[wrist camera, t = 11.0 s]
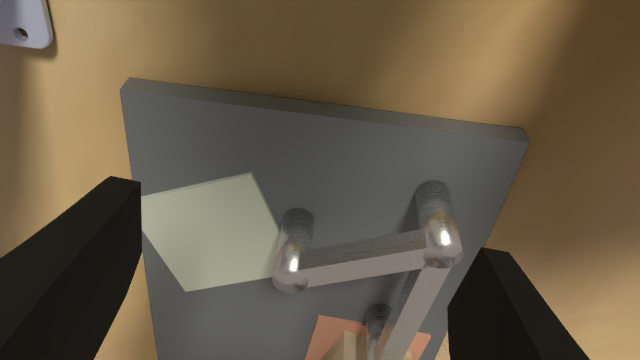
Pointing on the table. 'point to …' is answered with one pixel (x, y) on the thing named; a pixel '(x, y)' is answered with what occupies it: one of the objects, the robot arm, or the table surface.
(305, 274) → the bent wire
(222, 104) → the board
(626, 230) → the table surface
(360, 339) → the birch block
